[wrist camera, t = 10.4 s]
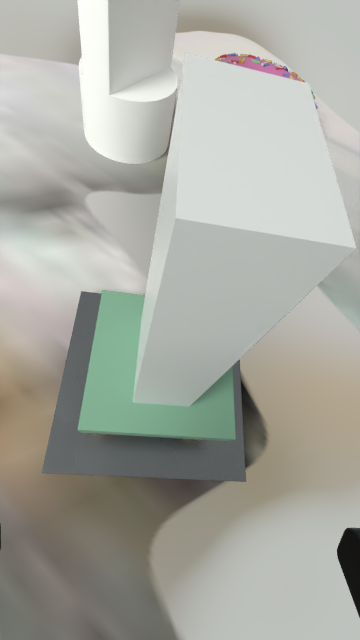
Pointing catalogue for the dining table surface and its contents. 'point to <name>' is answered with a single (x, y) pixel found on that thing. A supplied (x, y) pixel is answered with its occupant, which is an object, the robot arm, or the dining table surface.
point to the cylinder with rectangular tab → (128, 76)
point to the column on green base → (218, 254)
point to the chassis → (126, 450)
